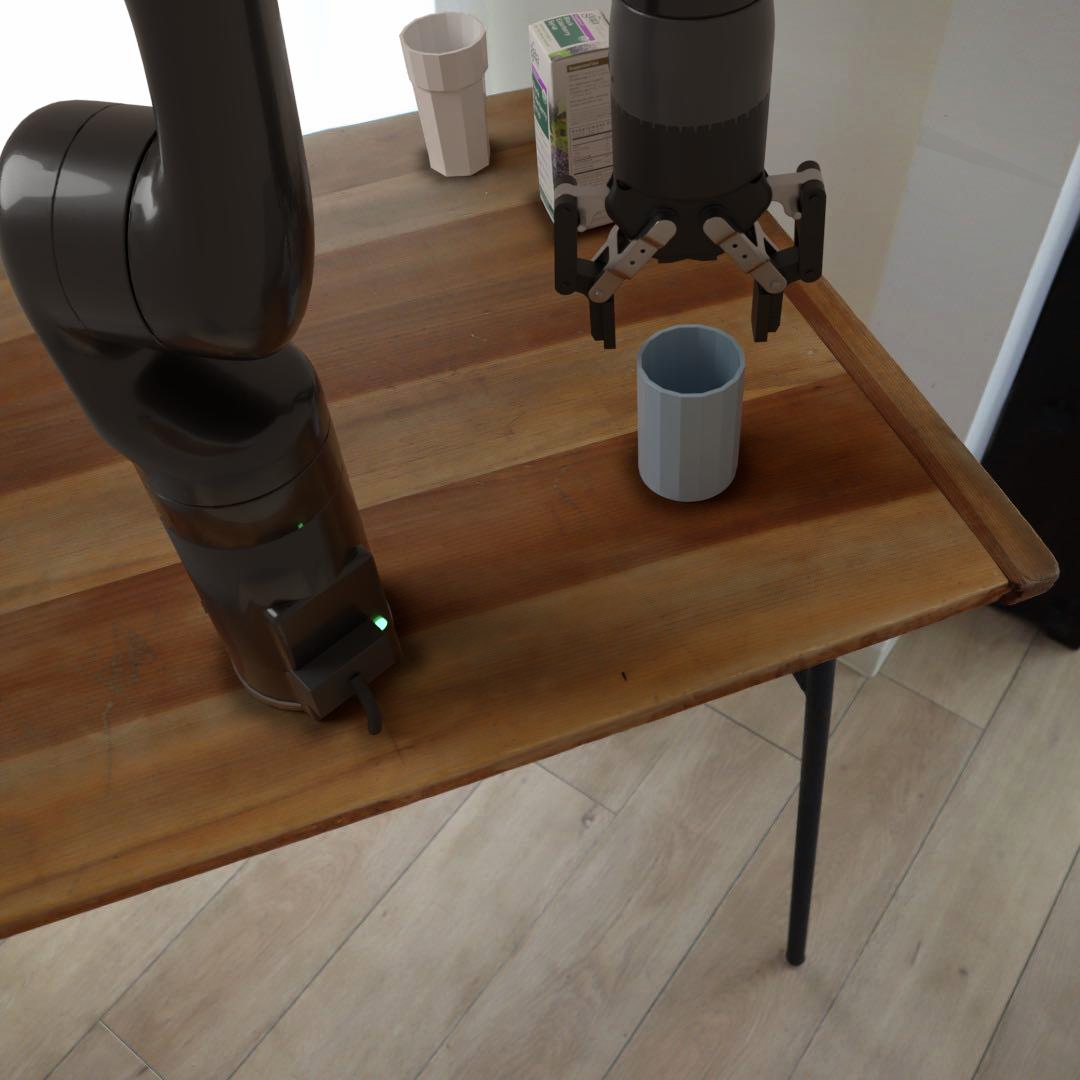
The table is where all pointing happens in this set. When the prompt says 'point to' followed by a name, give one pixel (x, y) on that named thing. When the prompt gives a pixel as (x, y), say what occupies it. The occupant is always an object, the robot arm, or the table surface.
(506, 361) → the table surface
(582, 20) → the syrup box
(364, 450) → the table surface
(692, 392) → the glass
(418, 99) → the cup
